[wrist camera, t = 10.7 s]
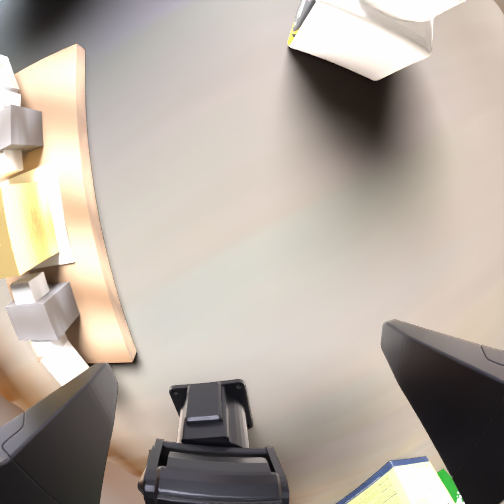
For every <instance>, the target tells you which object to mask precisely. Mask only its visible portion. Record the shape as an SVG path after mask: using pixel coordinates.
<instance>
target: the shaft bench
mask: <svg viewBox="0 0 504 504" xmlns="http://www.w3.org/2000/svg"><path fill="white" fill-rule="evenodd" d="M44 180H46V182H47V189H48V196H49V202H50V208H51V213H52V218H53V223H54V228H55V233H56V237H57V242H58V246H59V250H60V251H59V252H57V253H56V254H54V255H52V256H51V257H49V258H47V259H45V260H44V261H42V262H41V263H39V264H37V265H36V266H34V267H32V268H31V269H29V270H28V271H26V272H24V273H23V274H21V275H20V276H14V277H8V278H6V281H7V285H8V288H9V291H10V294H11V297H12V299H13V302H11V303H10V304H9V305H7V306H6V310H7V313H8V315H9V318H10V320H11V323H12V325H13V328H14V330H15V332H16V335H17V337H18V339H19V340H24V341H29V342H30V344H31V346H32V348H33V350H34V352H35V354H36V356H37V358H38V360H39V362H42V363H43V364H44V365H45V366H46V368H47V369H48V370H49V371H50V372H51V374H52V375H53V376H54V377H55V378H56V380H57V381H58V382H59V383H60V384H61V385H62V386H63V385H64V384H66V383H67V382H69V381H70V380H72V379H73V378H75V377H76V376H78V375H79V374H81V373H82V372H84V371H85V370H87V369H88V368H89V366H88V365H87V364H86V363H122V362H132V361H133V359H134V357H135V354H136V352H137V351H136V348H135V346H134V343H133V340H132V337H131V334H130V331H129V328H128V326H127V323H126V319H125V316H124V313H123V310H122V307H121V304H120V300H119V297H118V294H117V290H116V287H115V283H114V279H113V276H112V272H111V268H110V264H109V260H108V256H107V252H106V248H105V244H104V239H103V234H102V230H101V225H100V220H99V215H98V209H97V204H96V198H95V192H94V186H93V179H92V172H91V164H90V156H89V146H88V136H87V123H86V105H85V49H83V48H82V47H81V46H80V45H78V44H75V45H72V46H70V47H68V48H65V49H63V50H61V51H59V52H56V53H54V54H52V55H50V56H48V57H46V58H44V59H42V60H40V61H38V62H36V63H34V64H32V65H30V66H28V67H27V68H25V69H23V70H21V71H19V72H18V73H16V74H14V73H13V71H12V68H11V65H10V62H9V59H8V57H5V56H3V55H1V54H0V187H2V186H9V185H15V184H22V183H29V182H36V181H44Z"/></svg>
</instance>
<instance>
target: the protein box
mask: <svg viewBox="0 0 504 504" xmlns="http://www.w3.org/2000/svg"><path fill="white" fill-rule="evenodd" d="M336 504H455V503H454V501H453V499H452V497H451V496H450V494H449V492H448V491H447V489H446V487H445V486H444V484H443V483H442V481H441V480H440V478H439V476H438V475H437V473H436V471H435V470H434V468H433V467H432V465H431V463H430V462H429V460H428V459H427V457H426V456H425V457H419V458H411V459H403V460H393V461H389V462H388V463H387V464H386V465H385V466H383V467H382V468H381V469H380V470H379V471H378V472H376V473H375V474H374V475H373V476H372V477H371V478H369V479H368V480H367V481H366V482H365V483H363V484H362V485H361V486H359V487H358V488H357V489H356V490H354V491H353V492H352V493H350V494H349V495H348V496H346V497H345V498H343V499H342V500H341V501H339V502H338V503H336Z"/></svg>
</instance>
